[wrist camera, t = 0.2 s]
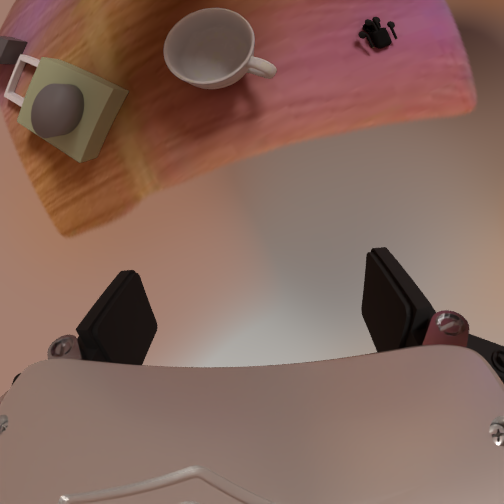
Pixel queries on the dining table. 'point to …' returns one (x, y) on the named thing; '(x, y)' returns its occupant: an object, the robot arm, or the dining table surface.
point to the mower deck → (93, 112)
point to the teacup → (213, 49)
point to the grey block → (10, 49)
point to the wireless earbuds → (377, 33)
